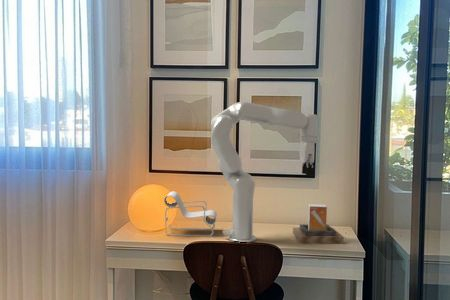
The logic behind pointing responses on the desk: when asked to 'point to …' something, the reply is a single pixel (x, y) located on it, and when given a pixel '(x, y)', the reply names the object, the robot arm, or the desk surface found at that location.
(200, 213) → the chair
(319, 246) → the desk surface
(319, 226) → the small box
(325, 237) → the display stand
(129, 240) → the desk surface
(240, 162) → the robot arm
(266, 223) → the desk surface
